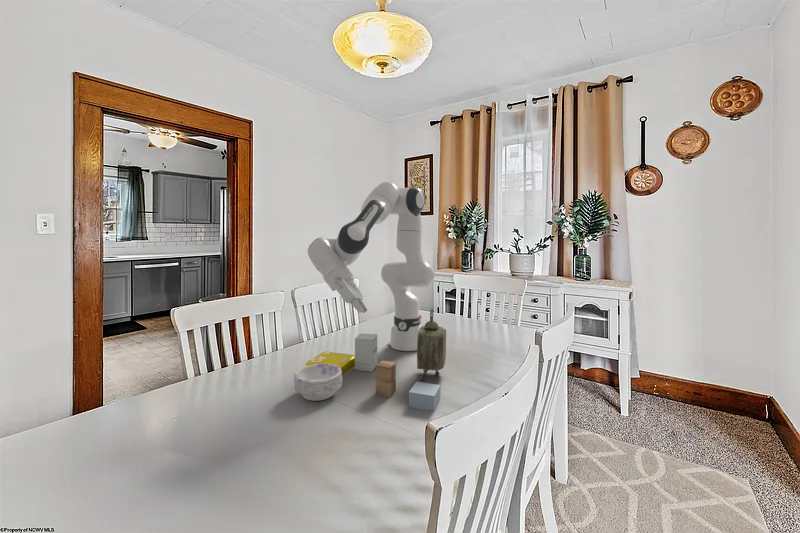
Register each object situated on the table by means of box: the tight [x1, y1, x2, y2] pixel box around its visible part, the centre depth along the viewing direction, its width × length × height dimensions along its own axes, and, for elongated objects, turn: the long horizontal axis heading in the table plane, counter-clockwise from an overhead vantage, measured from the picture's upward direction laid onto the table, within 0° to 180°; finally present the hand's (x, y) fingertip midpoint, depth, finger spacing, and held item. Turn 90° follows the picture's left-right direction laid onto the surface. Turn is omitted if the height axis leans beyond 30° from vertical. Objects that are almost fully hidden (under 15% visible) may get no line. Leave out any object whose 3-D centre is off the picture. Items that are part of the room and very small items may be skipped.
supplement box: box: [354, 333, 378, 372], centre depth 144 cm, size 7×7×13 cm
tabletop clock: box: [416, 308, 447, 381], centre depth 136 cm, size 14×9×25 cm, turn 168°
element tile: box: [305, 351, 355, 377], centre depth 143 cm, size 15×15×5 cm
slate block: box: [408, 381, 441, 412], centre depth 115 cm, size 8×8×5 cm
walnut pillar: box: [375, 360, 397, 398], centre depth 122 cm, size 5×5×10 cm
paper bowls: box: [293, 364, 343, 402], centre depth 121 cm, size 15×15×8 cm
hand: (363, 311), depth 126 cm, fingers open, 8 cm apart
